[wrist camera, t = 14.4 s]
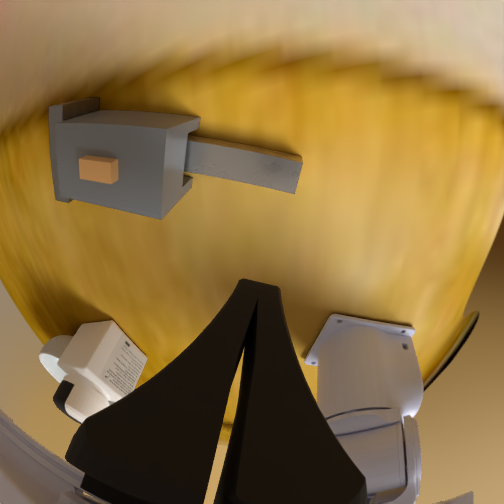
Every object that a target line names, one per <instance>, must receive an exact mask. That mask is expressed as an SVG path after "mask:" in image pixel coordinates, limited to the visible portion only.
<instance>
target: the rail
mask: <svg viewBox="0 0 504 504" xmlns="http://www.w3.org/2000/svg"><path fill="white" fill-rule="evenodd" d="M99 100H100V97H92V98H83V99H78V100H74V101H70V102H65V103H61V104H57V105H54V106H50V107H49V141H50V156H51V167H52V176H53V184H54V191H55V198H56V200H57V201H62V202H67V203H69V202H71V201H72V200H74V199H70V198H65V197H61V196H60V189H59V180H58V170H57V156H56V131H55V124H56V123H59V122H62V121H65V120H68V119H71V118H74V117H78V116H81V115H85V114H88V113H92V112H96V111H99ZM302 164H303V161H302V157H300V156H296V155H292V154H288V153H284V152H279V151H275V150H270V149H266V148H261V147H256V146H251V145H246V144H241V143H235V142H229V141H224V140H217V139H211V138H204V137H197V136H190V135H188V137H187V145H186V154H185V163H184V171H185V172H191V173H197V174H203V175H208V176H213V177H219V178H224V179H229V180H234V181H239V182H243V183H248V184H253V185H257V186H262V187H266V188H271V189H275V190H279V191H284V192H288V193H292V194H295V191H296V187H297V183H298V179H299V176H300V172H301V168H302Z"/></svg>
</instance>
